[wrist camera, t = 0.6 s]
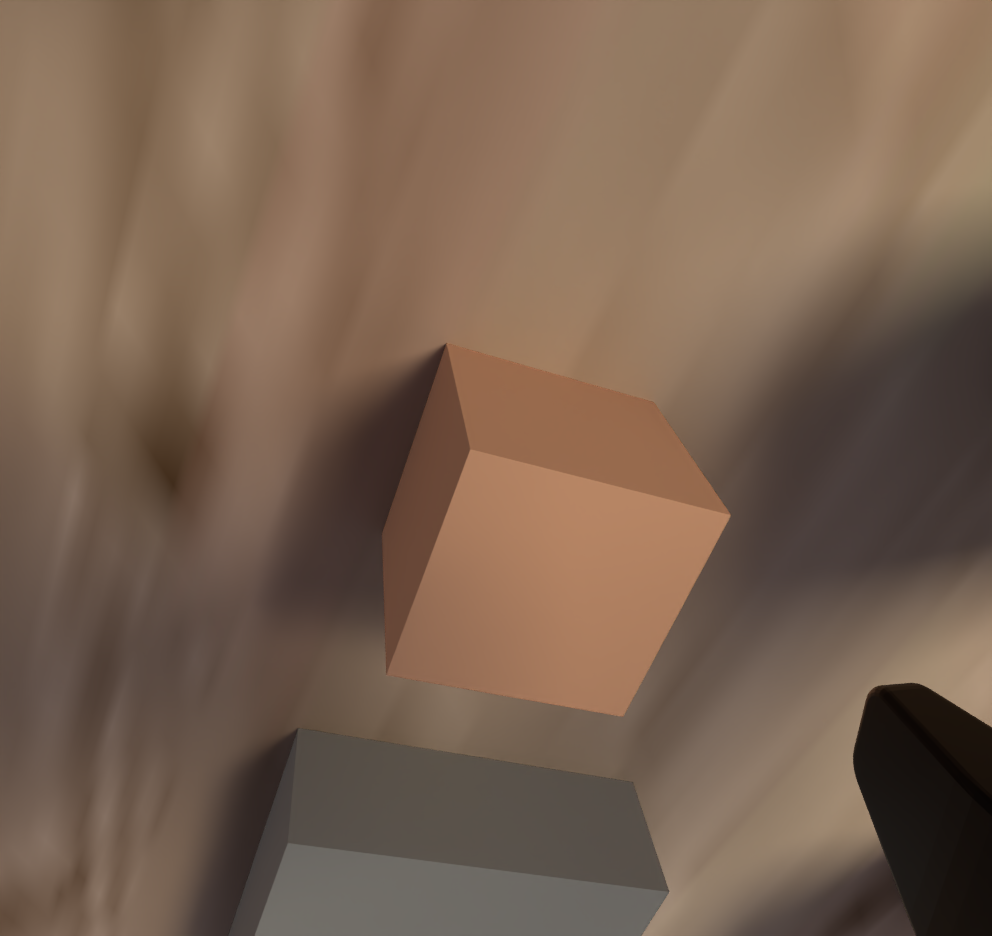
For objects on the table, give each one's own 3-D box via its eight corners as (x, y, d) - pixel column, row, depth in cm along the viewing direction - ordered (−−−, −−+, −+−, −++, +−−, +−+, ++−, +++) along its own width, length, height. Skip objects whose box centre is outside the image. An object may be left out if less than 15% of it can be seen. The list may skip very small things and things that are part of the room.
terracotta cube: (653, 400, 20) (731, 515, 16) (573, 574, 22) (623, 716, 18) (446, 341, 19) (470, 449, 15) (381, 532, 21) (386, 675, 17)
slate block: (629, 773, 27) (669, 892, 23) (514, 975, 31) (533, 1103, 27) (299, 717, 24) (287, 843, 20) (221, 948, 28) (201, 1085, 25)
